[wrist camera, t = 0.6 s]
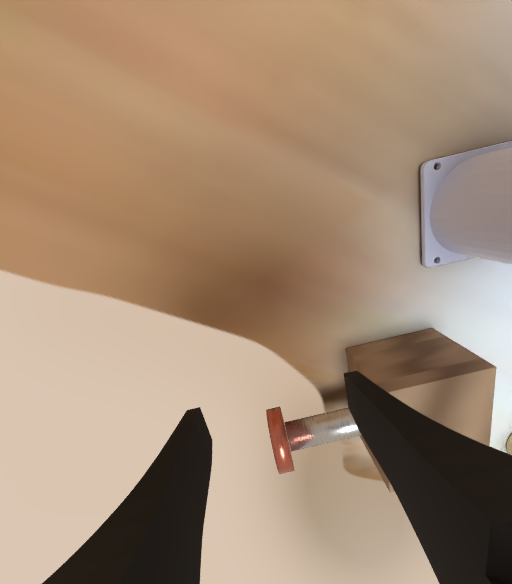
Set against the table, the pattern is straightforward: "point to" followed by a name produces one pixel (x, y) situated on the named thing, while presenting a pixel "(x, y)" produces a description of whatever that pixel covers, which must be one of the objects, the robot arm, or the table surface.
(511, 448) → the candle
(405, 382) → the block
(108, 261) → the table surface
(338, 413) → the pin
